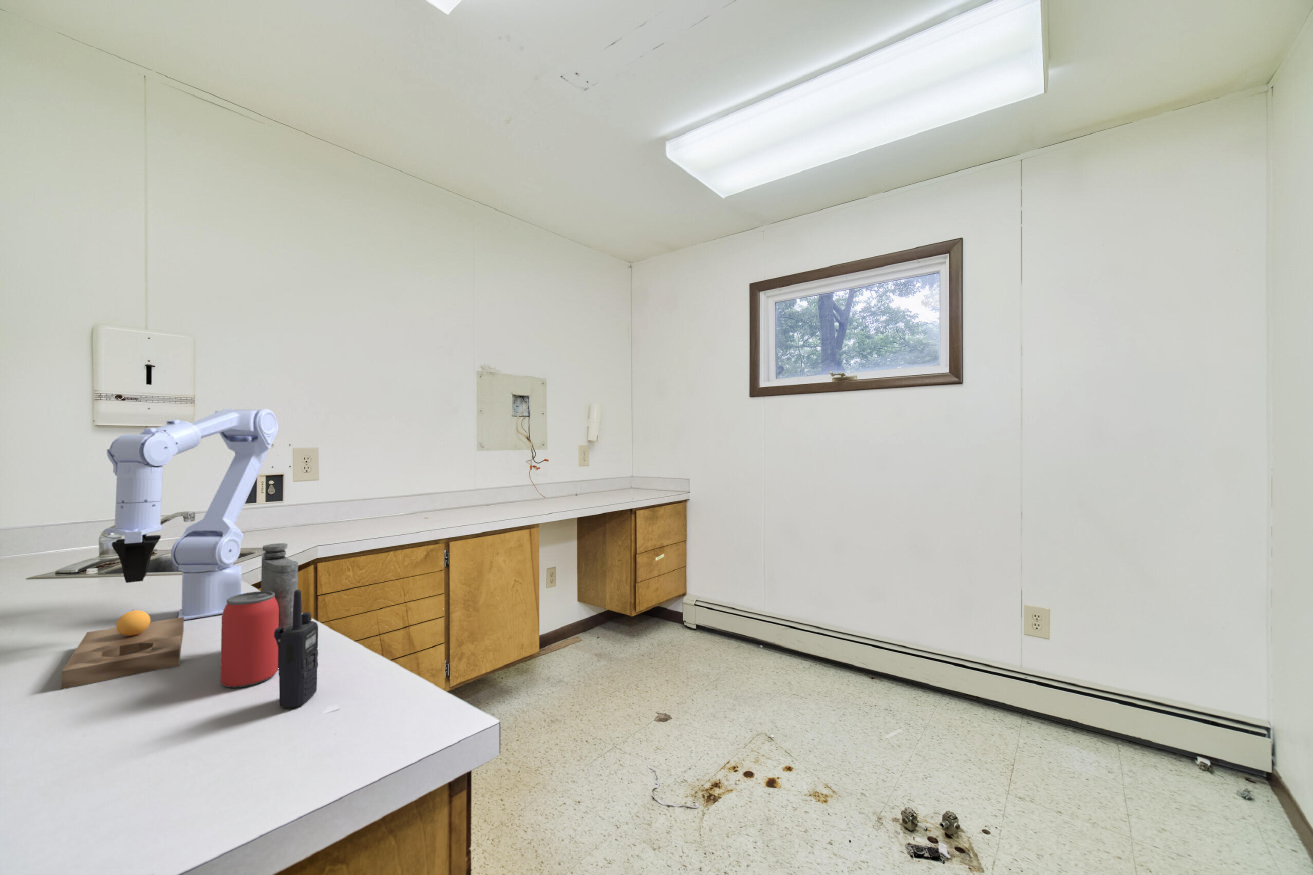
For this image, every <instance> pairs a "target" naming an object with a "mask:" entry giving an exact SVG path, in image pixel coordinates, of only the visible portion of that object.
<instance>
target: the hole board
mask: <svg viewBox="0 0 1313 875" xmlns="http://www.w3.org/2000/svg"><path fill="white" fill-rule="evenodd" d="M184 622H185V620H184V617H180V618H178V617H174V618H169V619H163V620H161V619H160V620H156V621H150V624H149V626H148V628H147V629H146V630H145V631H143V632H142V633H140V634H137V635H134V636H125V635H122V634H120V633H119V632H118V631H117V629H116V627H111V628H105V629H99V630H92V631H88V632H86V634H85V635H84V636H83V637H82V640H80V642H79V644H78V645H77V647H76V649H75V650H74V652H73V653H72V655H70V656H71V657H70V658H69V659H68V660H67V662H66V664H65V666H64V667H63V668H62V670H61V686H60V687H61V690H65V689H64V688H66V689H69V688H70V687H71V688H75V687H74V686H76V687H80V686H86V685H89V684H95V683H101V682H104V681H110V680H113V679H119V678H124V677H130V676H135V675H138V674H144V673H149V672H154V671H158V670H164V669H168V668H174V667H178V666H180V661H181V660H180V658H181V652H182V645H183V638H184V632H185V630H184V625H185V623H184ZM71 688H70V689H71Z"/></svg>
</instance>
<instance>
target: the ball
mask: <svg viewBox="0 0 1313 875" xmlns="http://www.w3.org/2000/svg"><path fill="white" fill-rule="evenodd" d="M150 622H151V617H150V615H149V614H148V613H147V612H145V611H143V610H138V609H137V610H130V611H128V612H125V613H124V614H122V615H121V616H120V617H119V618H118V620H117V621H116V625H115V628H116V629H117V631H118V632H119V633H120V634H122V635H125V636H134V635H137V634H140V633H142V632H143V631H145V630H146V629H147V628H148V626H149V624H150Z"/></svg>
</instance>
